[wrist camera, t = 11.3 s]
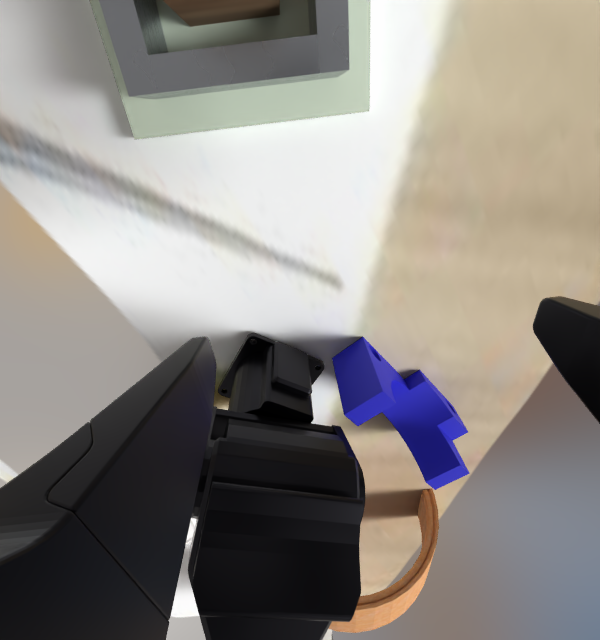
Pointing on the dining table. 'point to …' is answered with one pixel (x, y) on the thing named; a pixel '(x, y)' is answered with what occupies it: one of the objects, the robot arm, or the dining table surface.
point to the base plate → (248, 103)
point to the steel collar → (223, 53)
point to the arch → (405, 591)
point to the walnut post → (222, 10)
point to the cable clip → (402, 409)
